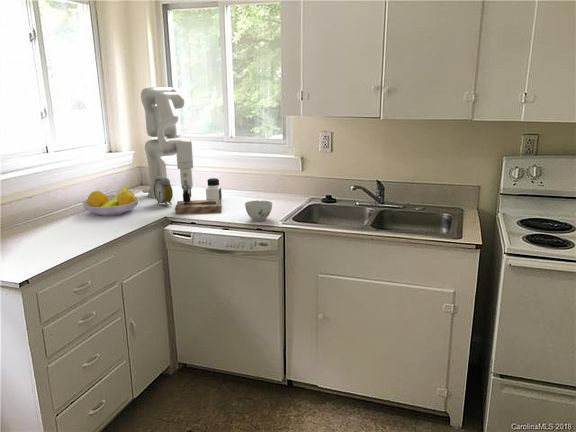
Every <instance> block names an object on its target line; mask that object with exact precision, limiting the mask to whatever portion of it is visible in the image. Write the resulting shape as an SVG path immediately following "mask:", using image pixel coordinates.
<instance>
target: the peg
mask: <svg viewBox="0 0 576 432" xmlns="http://www.w3.org/2000/svg"><path fill="white" fill-rule="evenodd" d="M189 193H190V188H189ZM191 198H192V197H190V202H185V205H191V201H192V199H191Z"/></svg>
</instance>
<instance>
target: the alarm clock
mask: <svg viewBox="0 0 576 432" xmlns="http://www.w3.org/2000/svg"><path fill="white" fill-rule="evenodd" d="M173 193H174V192H173V188H172V185H171V180H170V179H169V178H168V177H167V178H163V177H162V176H158V177H156V179H155V184H154V195H155V198H154V199H155V200H156V201H157V205H159V204H164V206H165V208H168V204H170V205H172V202H171V201H172V200H173V196H174V194H173Z"/></svg>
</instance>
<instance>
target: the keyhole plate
mask: <svg viewBox="0 0 576 432" xmlns="http://www.w3.org/2000/svg"><path fill="white" fill-rule="evenodd" d="M174 210H175V215H190V214H193V213H194V214H212V213H213V214H214V213H218V214H219V213H222V199H221V200H206V199H200V200H191V205H185V202H183V200H178V201H177V202H176V205H175V207H174Z"/></svg>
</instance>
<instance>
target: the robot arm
mask: <svg viewBox="0 0 576 432" xmlns="http://www.w3.org/2000/svg"><path fill="white" fill-rule="evenodd" d="M140 100H141V104H142V106H143V108H144V112H145V116H144V117H145V127H146V134H147V136H149V137H150V138H155V139H150V140H147V141H146V142H145V144H144V150H145V151H144V152H145V155H146V159H147V167H148V180H149V188H142V189H141V190H142V194H143V193H144V194H147V197H148V198H152V199H156V198H155V195H154V184H155V179H156V177H158V176H162V177H163V178H168V177H167V176H168V175H167V165H166V163H165V161H164V160H163V158H162V157H168V156H174V155H176V162H177V163H176V166H177V170H179V173H180V174H179V175H180V185H181V186H180V187H181V189H182V201H183V202H190V198H192V189H193V186H194V184H193V171H192V169H194V161H193V160H194V159H193V157H194V155H193V144H192V141H191V140H190V139H187V138H186V137H177V135H178V134H177V125H176V124H177V123H178V122H179V116H178V113H177V109H183V107H184V106H185V99H184V95H183V94H182V93H181V92H180V91H179V90H177V89H176V88H174V87H170V86H169V87H168V86H165V87H164V86H163V87H162V86H159V87H157V86H156V87H154V86H153V87H146V88H143V89H142V90H141V92H140ZM189 188H190V193H189Z"/></svg>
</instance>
